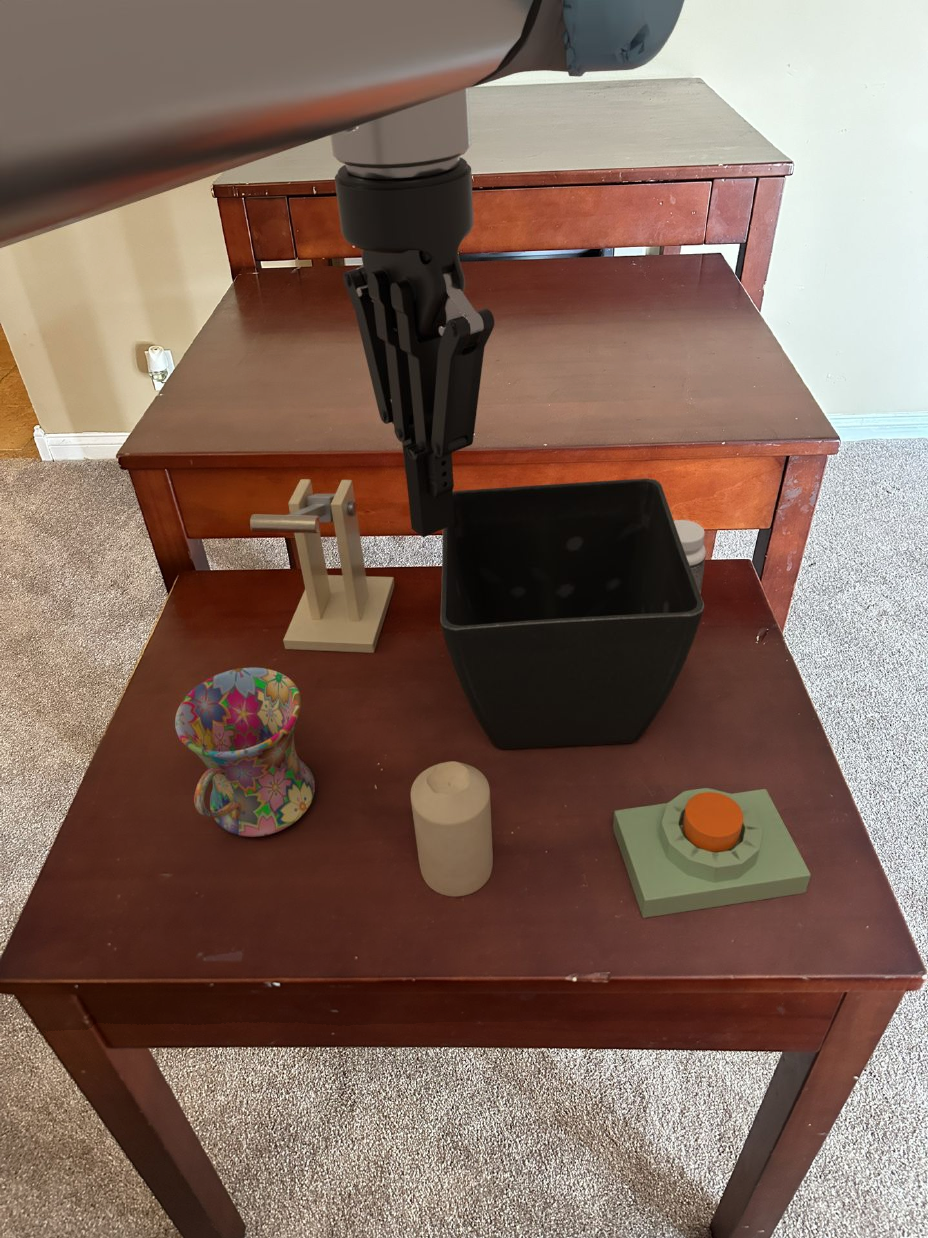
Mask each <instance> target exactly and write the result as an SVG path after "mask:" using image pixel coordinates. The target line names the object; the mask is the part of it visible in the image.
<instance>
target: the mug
mask: <svg viewBox="0 0 928 1238" xmlns="http://www.w3.org/2000/svg"><path fill="white" fill-rule="evenodd" d="M301 708H302V698H301V692H300V690H299V688H298V686H297V684H295V682H294V681H293V680H292V679H290V678H289V677H288V676H287V675H285V674H283V673H281V672H279V671H276V670H273V669H270V668H264V667H241V668H235V669H231V670H227V671H224V672H220V673H218V674H216V675H214V676H211V677H209V678H207V679H206V680H203V681H202V682H200V683H199V684H198V685H196V686H195V687H194V688H193V689H191V690H190V691H189V692H188V694H186V696H185V697H184V698H183V699H182V700H181V702H180V704H179V706H178V708H177V710H176V714H175V717H174V718H175V719H174V727H175V732H176V734H177V737H178V738H179V740H180V742H181V743H182V744H183V745H184V746H185V747H186V748H188V749H189V750H190V751H192V752H193V753H195V754H196V756H198V757H199V759H200V760H202V762H203V763H204V765H205V767H206V768H207V770H206V771H205V772H204V773H203V774H202V775H201V777H200V778H199V780H198V782H197V785H196V787H195V791H194V795H193V804H194V808H195V810H196V811H197V812H198V813H199V815H201V816H203V817H205V818H209V819H213V820H214V821H215V822H216V824H217V825H218V826H219V827H220V828H222V829H223V830H225V831H226V832H227V833H230V834H233V835H236V836H240V837H246V838H247V837H249V838H255V837H256V838H258V837H265V836H268V835H273V834H275V833H279V832H281V831H283V830H285V829H287V828H288V827H291V825H293V824H295V823H296V822H297V821H298V820H299V819H300V818H301V817H302V816H303V815H304V814H305V813H306V812H307V811H308V809H309V808H310V806H311V805H312V802H313V799H314V796H315V792H316V781H315V778H314V775H313V773H312V771H311V769H310V768H309V767H308V765H307V764H306V763H304V761H302V760H301V759H300V757H299V756H298V753H297V750H296V747H295V729H296V724H297V721H298V718H299V715H300V713H301ZM211 780H212V789H211V791H210V797H209V810H210V811H209V810H208V809H207V807H206V805H205V795H206V791H207V788H208V786H209V784H210V782H211Z"/></svg>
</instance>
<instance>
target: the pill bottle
mask: <svg viewBox="0 0 928 1238" xmlns="http://www.w3.org/2000/svg"><path fill="white" fill-rule="evenodd" d="M673 520H674V519H673ZM674 523H675V526H676V529H677V532H678V534H679V537H680V540H681V543H682V546H683V549H684V551H685V554H686V557H687V560H688V562H689V565H690V568H691V570H692V573H693V576H694V578H695V581H696V584H697V586H698V589H699V592H700V595H702V594H701V593H702V587H703V586H702V585H703V580H704V579H703V578H704V572H705V571H704V570H705V563H706V558H707V550H706V546H705V544H704V543H705V535H706V532H705V529H704V527H703V526H702V525H700V524H699V523H698V522H695V521H692V520H688V519H675V520H674Z"/></svg>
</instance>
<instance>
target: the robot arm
mask: <svg viewBox="0 0 928 1238" xmlns="http://www.w3.org/2000/svg"><path fill="white" fill-rule="evenodd" d="M684 3H685V0H0V249H3V248H5V247H10V246H11V245H14V244H18V243H19V242H24V241H25V240H26V241H27V240H29V239H33V238H35V237H38V236H40V235H43V234H47V233H49V232H52V231H55V230H58V229H61V228H64V227H67V226H69V225H72V224H75V223H79V222H81V221H84V220H87V219H90V218H93V217H96V216H99V215H102V214H105V213H107V212H111V211H114V210H116V209H120V208H123V207H126V206H128V205H131V204H133V203H137V202H140V201H142V200H146V199H149V198H152V197H155V196H158V195H160V194H163V193H166V192H169V191H171V190H175V189H178V188H181V187H183V186H187V185H189V184H193V183H196V182H198V181H201V180H203V179H207V178H210V177H213V176H216V175H218V174H221V173H224V172H228V171H230V170H233V169H236V168H239V167H242V166H245V165H248V164H251V163H253V162H256V161H260V160H262V159H265V158H268V157H272V156H274V155H276V154H280V153H283V152H286V151H288V150H291V149H294V148H297V147H300V146H303V145H305V144H309V143H311V142H314V141H317V140H320V139H323V138H327V137H329V138H330V145H331V146H330V147H331V153H332V156H333V157H334V158H335V159H336V160H337V161H338V162H339V163H342V164H343V165H342V166H340V168H338V170H337V173H336V174H335V175H334V184H335V192H336V200H337V206H338V215H339V222H340V223H339V224H340V230H341V235H342V236H343V238H344V240H345V241H346V242H347V243H348V244H350V245H351V246H352V247H355V248H357V249H360V250H361V261H362V264H361V265H360V266H359V267H357V268H354V269H350V270H347V271H344V272H343V274H342V280H343V284H344V287H345V289H346V291H347V294H348V297H349V299H350V302H351V304H352V307H353V309H354V312H355V317H356V322H357V326H358V329H359V334H360V338H361V342H362V346H363V352H364V354H365V359H366V363H367V367H368V370H369V376H370V380H371V386H372V389H373V393H374V397H375V402H376V405H377V410H378V414H379V417H380V419H381V422H383V424H385V425H388V424H392V425H393V428H394V429H393V430H394V435H395V436H396V439H397V440H398V441H399V442H401V447H402V455H403V456H402V457H403V464H404V472H405V478H406V489H407V498H408V508H409V516H410V517H409V518H410V527H411V530H413V531H414V532H415V533H416V534H418V535H419V536H421V538H423V539H424V538H426V537H428V536H430V535H433V534H435V533H437V532H440V531H441V530H442V529H444V528H446V527H449V526H451V525H453V524H455V521H454V506H453V491H454V486H455V483H454V467H453V453H454V452H457V451H460V450H462V449H465V448H467V447H469V446H472V445H473V443H474V437H475V427H476V419H477V413H478V406H479V405H478V403H479V396H480V388H481V379H482V373H483V362H484V355H485V347H486V345H487V343H488V341H489V339H490V337H491V334H492V332H493V330H494V328H495V317H494V314H493V312H492V311H491V310H490V309H489V308H483V309H479V310H475V308H474V306H473V305H472V304H471V302H470V301H469V300H468V298H467V296H466V295H465V294H464V292H465V287H466V281H465V280H466V279H465V274H464V271H463V268H462V264H461V261H460V256H459V248H460V245H461V243H462V242H463V240H464V239H465V238H466V237H467V236H468V235H469V234H470V233H471V231H472V229H473V227H474V203H473V179H472V178H473V177H472V167H471V166H470V164H468V161H467V160H466V159H465V158H463V157H461V156H463V155H465V153H466V152H468V150H469V148H470V147H471V146H472V131H471V130H472V128H471V111H470V94H469V93H470V91H469V89H470V88H474V87H479V86H481V85H484V84H487V83H490V82H494V81H497V80H501V79H503V78H505V77H508V76H511V75H514V74H519V73H525V72H527V73H529V72H544V71H545V72H546V71H547V72H564V73H568V76H569V77H577V78H579V77H583V76H584V74H585V73H592V72H593V73H595V72H596V73H597V72H617V71H633V70H635V69H638V68H641V67H643V66H645V65H647V64H648V63H650V62H651V61H652V60H654V58H655V57H656V56H657V55H659V53H660V52H661V51H662V49H663V48H664V47H665V45H666V44H667V42H668V41H669V39H670V37H671V35H672V34H673V32H674V30H675V29H676V25H677V22H678V21H679V18H680V16H681V13H682V10H683V7H684Z"/></svg>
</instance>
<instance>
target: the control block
mask: <svg viewBox="0 0 928 1238" xmlns="http://www.w3.org/2000/svg"><path fill="white" fill-rule="evenodd" d="M704 792H715V793H720V794H723V795H725V796H727V797H729V798H731V799H732V800H733V801H735V802H736V803H737V804H738V806H739V807H740V809H741V811H742V813H743V824H742V828H741V833H740V837H739V840H738V842H737V843H736V844H735V845H734V846H733V847H732V848H730V849H728V850H725V851H721V852H712V851H707V850H703V849H701V848H699V847H697V846H695V845H694V844H693V843H691V842H690V841H689V839H688V838H687V837H686V835H685V833H684V830H683V820H684V814H685V808H686V805H687V803H688V801H689V800H690V799H691V798H692V797H693V796H695V795H697V794H700V793H704ZM612 830H613V833H614V837H615V840H616V843H617V845H618V848H619V851H620V854H621V857H622V860H623V863H624V866H625V869H626V873H627V874H628V878H629V882H630V885H631V887H632V890H633V894H634V896H635V900H636V902H637V905H638V908H639V911H640V914H641V918H643V919H647V918H652V917H653V918H654V917H658V916H660V917H661V916H665V915H672V914H679V913H685V912H691V911H697V910H705V909H711V908H718V907H724V906H730V905H736V904H742V903H743V904H744V903H749V902H755V901H762V900H768V899H776V898H781V897H788V896H795V895H800V894H806V892H807V889H808V886H809V884H810V883H809V882H810V879H811V876H812V874H811V872H810V870H809V868H808V867H807V865H806V863H805V861H804V858H803V857H802V855H801V853H800V850H799V849H798V848H797V847H798V846H797V845H796V843H795V842H794V840H793V837H792V836H791V834H790V832H789V830H788V828H787V827H786V824H785V823H784V821H783V818H782V817H781V815H780V813H779V811H778V809H777V807H776V805H775V804H774V802H773V799H772V798H771V796H770V794H769V792H768V789H766V788H762V789H753V790H747V791H740V792H734V793H729V792H726V791H723V790H722V791H721V790H718V789H713V788H710V787H703V788H697V789H689V790H683V791H682V792H681V793H679V794H678V795H677V796H675V797H674V798H673V799H670V801H668V802H664V803H657V804H651V805H644V806H637V807H631V808H624V809H623V808H622V809H616V810H614V812H613V821H612Z"/></svg>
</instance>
